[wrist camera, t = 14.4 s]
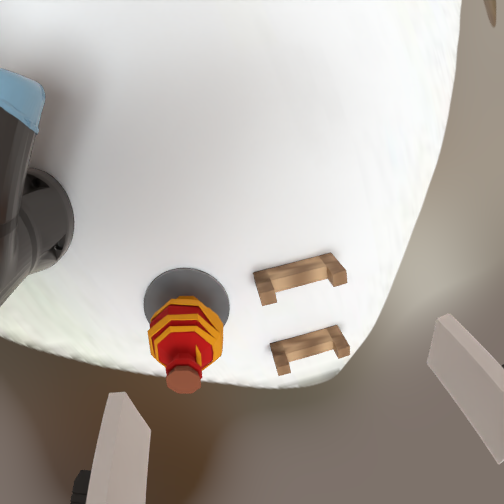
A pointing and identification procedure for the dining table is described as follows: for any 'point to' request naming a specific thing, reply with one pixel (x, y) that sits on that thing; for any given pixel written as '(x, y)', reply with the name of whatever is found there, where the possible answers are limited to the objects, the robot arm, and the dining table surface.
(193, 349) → the potion bottle
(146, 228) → the dining table surface
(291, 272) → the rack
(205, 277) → the coaster
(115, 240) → the dining table surface
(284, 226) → the dining table surface
